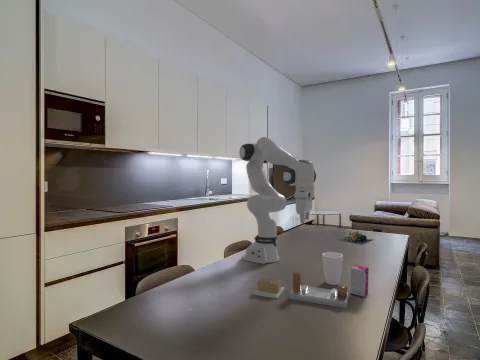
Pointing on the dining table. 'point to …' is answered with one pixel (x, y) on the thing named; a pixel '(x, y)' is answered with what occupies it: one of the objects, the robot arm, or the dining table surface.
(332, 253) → the foam cup
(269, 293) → the sage mat
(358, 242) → the plated dish
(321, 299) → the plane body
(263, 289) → the tan upright box
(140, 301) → the dining table surface
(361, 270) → the supplement box
